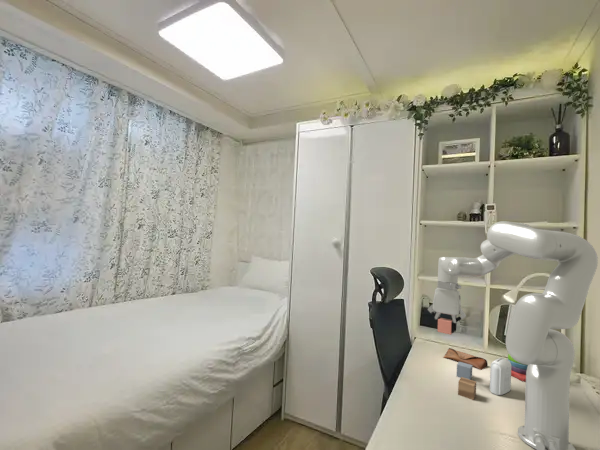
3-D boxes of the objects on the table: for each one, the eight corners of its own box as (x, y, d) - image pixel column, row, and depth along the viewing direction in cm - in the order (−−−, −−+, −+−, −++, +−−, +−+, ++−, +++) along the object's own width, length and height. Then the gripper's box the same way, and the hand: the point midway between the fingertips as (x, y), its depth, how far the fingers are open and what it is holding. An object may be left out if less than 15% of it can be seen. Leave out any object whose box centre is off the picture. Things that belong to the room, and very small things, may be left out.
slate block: (469, 380, 121) (470, 368, 121) (456, 376, 124) (456, 364, 124) (472, 377, 124) (472, 365, 125) (458, 373, 128) (459, 361, 128)
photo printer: (499, 386, 117) (501, 354, 118) (512, 391, 114) (513, 358, 115) (487, 391, 112) (488, 358, 113) (500, 397, 108) (501, 362, 109)
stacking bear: (499, 372, 133) (501, 332, 134) (513, 369, 137) (514, 331, 138) (526, 383, 123) (527, 339, 124) (540, 380, 127) (541, 338, 128)
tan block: (473, 400, 104) (474, 386, 105) (457, 394, 107) (458, 381, 108) (475, 395, 108) (476, 381, 108) (460, 390, 111) (461, 376, 112)
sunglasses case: (441, 357, 146) (444, 344, 148) (445, 361, 150) (448, 349, 152) (482, 370, 133) (485, 356, 135) (486, 375, 136) (488, 361, 139)
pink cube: (450, 334, 118) (451, 322, 118) (437, 331, 121) (438, 319, 121) (453, 332, 122) (453, 320, 122) (440, 329, 125) (441, 317, 125)
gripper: (472, 288, 120) (470, 333, 119) (428, 283, 131) (426, 324, 130) (468, 290, 115) (467, 337, 113) (423, 283, 125) (421, 327, 124)
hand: (445, 330), depth 121 cm, fingers closed on pink cube, 4 cm apart
